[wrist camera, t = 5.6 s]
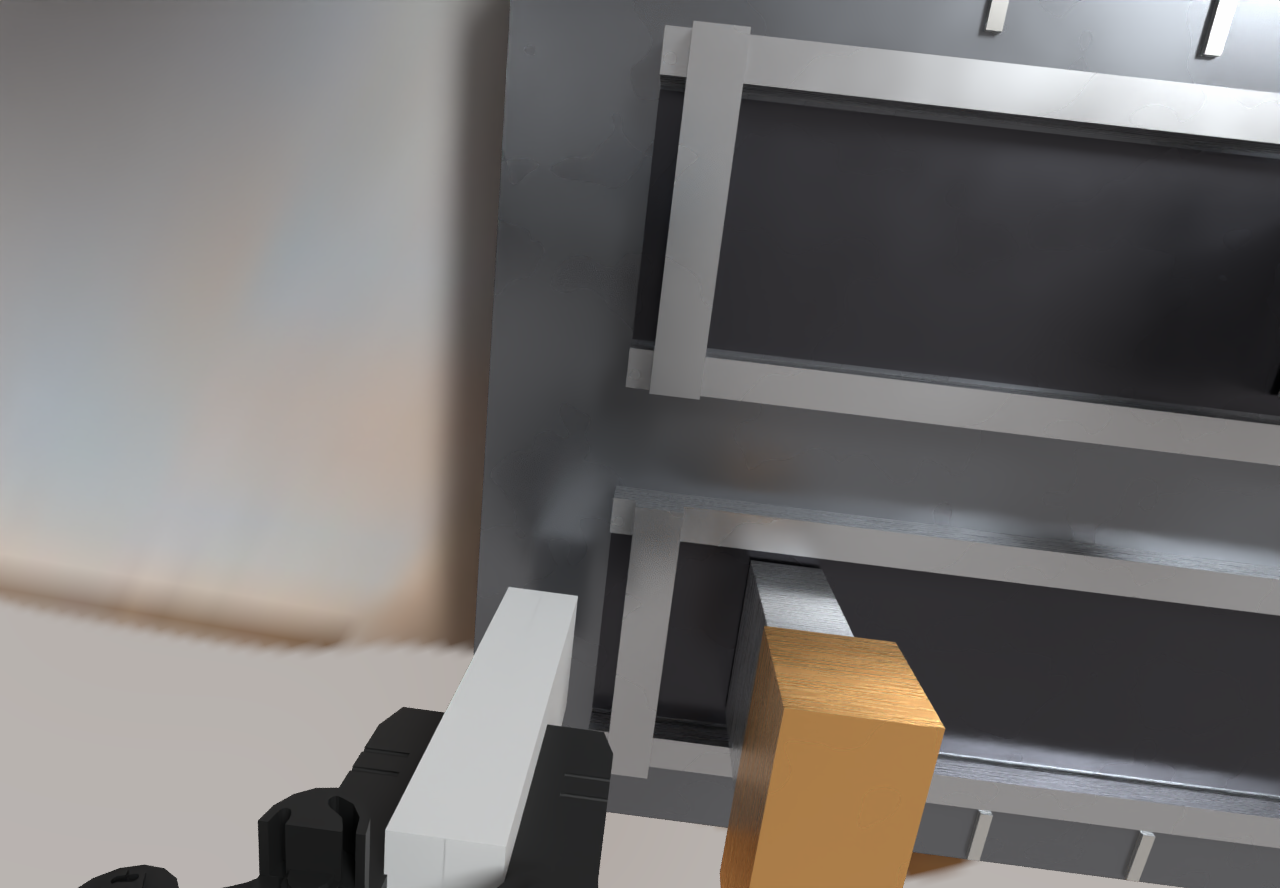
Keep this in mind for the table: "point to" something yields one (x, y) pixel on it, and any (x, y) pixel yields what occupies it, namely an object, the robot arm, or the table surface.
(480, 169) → the table surface
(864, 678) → the fader
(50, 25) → the table surface
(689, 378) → the console
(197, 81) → the table surface
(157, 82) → the table surface
